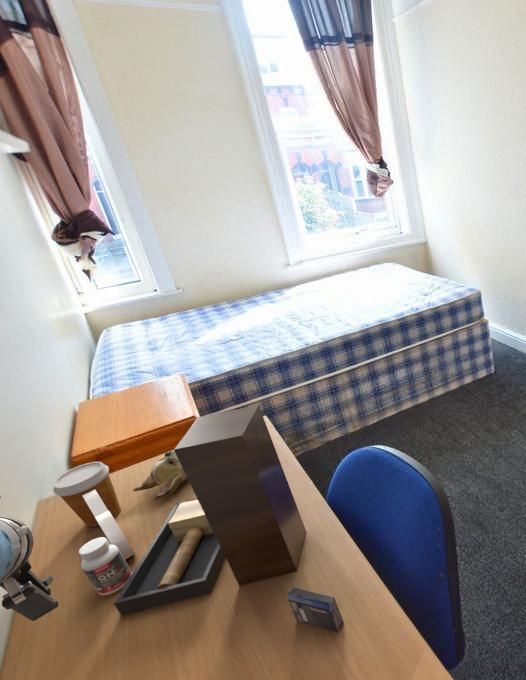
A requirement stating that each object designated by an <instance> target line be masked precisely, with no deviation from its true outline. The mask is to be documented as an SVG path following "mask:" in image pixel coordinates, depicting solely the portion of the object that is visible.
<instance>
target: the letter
mask: <svg viewBox="0 0 526 680" xmlns="http://www.w3.org/2000/svg"><path fill="white" fill-rule="evenodd" d="M82 496H83V498H84V500H85V501H86V503H87V505H88V506H89V508H90V510H91V511H92V513H93V515H94V516H95V518H96V520H97V522H98V523H99V525H98V526H99V527H100V528H101V529H102V532H103V533H104V535H105V538H106V539H107V540H108V542H109V544H112V545H115V546H117V548H118V549H119V551H120V552H121V554H122V556H123V558H124V559H125V561H126V560H127V559H129V558H131V557H133V556H134V555H135V551H134V550H133V548H132V546H131V544H130V543H129V541H128V539H127V537H126V536H125V534H124V533H123V530H122V529H121V528H120V526H119V524H118V523H117V521H116V520H115V517H114V518H113V516H112V515H111V513H110V512H109V511H108V509H107V508H106V506H105V504H104V503H103V501H102V499H101V498H100V496H99V495H98V493H97V492H96V490H93V491H91V492H89V493H87V494H85V495H82Z"/></svg>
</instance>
